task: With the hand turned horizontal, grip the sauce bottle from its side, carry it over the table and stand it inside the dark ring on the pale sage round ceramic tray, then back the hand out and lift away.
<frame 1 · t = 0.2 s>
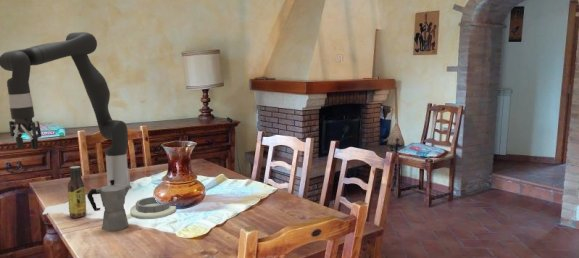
hand: (27, 148, 172), 28 cm above the table, tool pointing down, fingers open, 8 cm apart
coffeepot: (112, 227, 169), on the table
ring tray: (153, 211, 186), on the table
sauce bottle: (78, 216, 182), on the table
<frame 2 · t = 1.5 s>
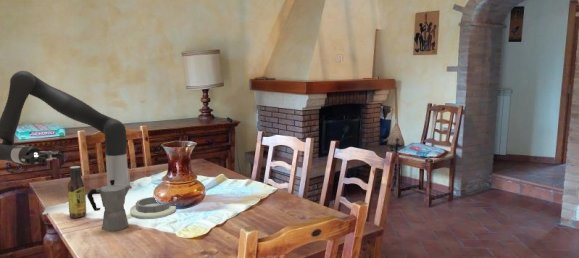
hand: (54, 158, 182), 22 cm above the table, tool horizontal, fingers open, 8 cm apart
nothing on the table moved.
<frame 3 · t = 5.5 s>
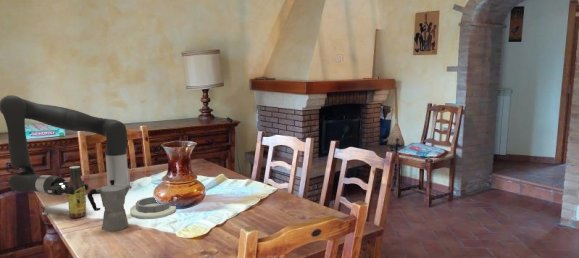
hand: (80, 189, 179), 11 cm above the table, tool horizontal, fingers closed on sauce bottle, 6 cm apart
sauce bottle: (78, 215, 182), on the table, touching gripper
everything else where it was.
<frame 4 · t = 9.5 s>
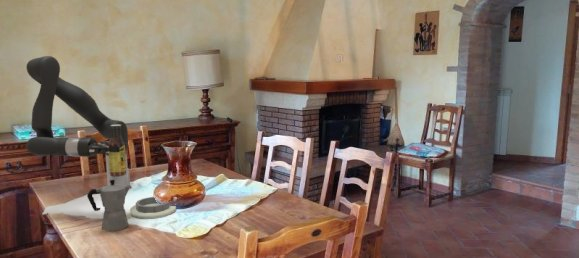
hand: (123, 147, 177), 28 cm above the table, tool horizontal, fingers closed on sauce bottle, 6 cm apart
sauce bottle: (118, 175, 179), point 16 cm above the table, touching gripper
everything else where it was.
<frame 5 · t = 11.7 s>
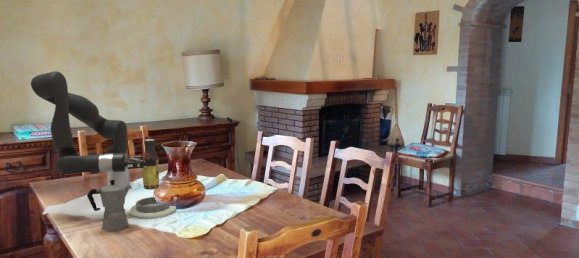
hand: (156, 161, 183), 21 cm above the table, tool horizontal, fingers closed on sauce bottle, 6 cm apart
sauce bottle: (151, 188, 185), point 10 cm above the table, touching gripper
everything else where it was.
when the fingers open (14 cm above the table, at t = 13.5 s): sauce bottle drops 1 cm, resting on ring tray.
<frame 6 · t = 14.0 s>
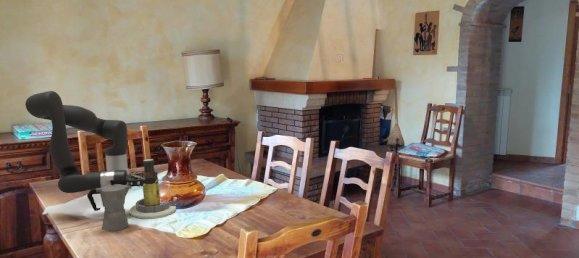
hand: (156, 177, 185), 14 cm above the table, tool horizontal, fingers open, 8 cm apart
sauce bottle: (152, 208, 186), point 1 cm above the table, touching ring tray
everything else where it was.
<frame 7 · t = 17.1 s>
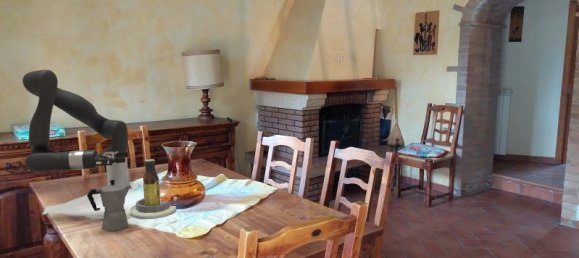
hand: (127, 156, 181), 23 cm above the table, tool horizontal, fingers open, 8 cm apart
nothing on the table moved.
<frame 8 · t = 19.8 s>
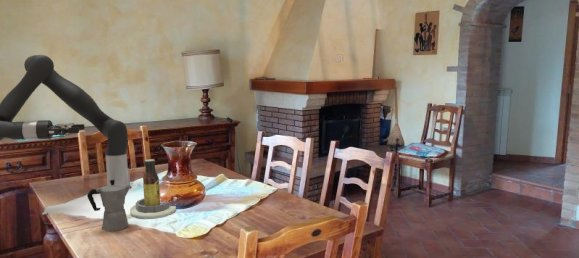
hand: (81, 128, 183), 34 cm above the table, tool horizontal, fingers open, 8 cm apart
nothing on the table moved.
at the end: sauce bottle 0.3 cm off-centre on the ring tray, point 1.3 cm above the ring tray's base; sauce bottle tilted 0°; the gripper is holding nothing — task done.
